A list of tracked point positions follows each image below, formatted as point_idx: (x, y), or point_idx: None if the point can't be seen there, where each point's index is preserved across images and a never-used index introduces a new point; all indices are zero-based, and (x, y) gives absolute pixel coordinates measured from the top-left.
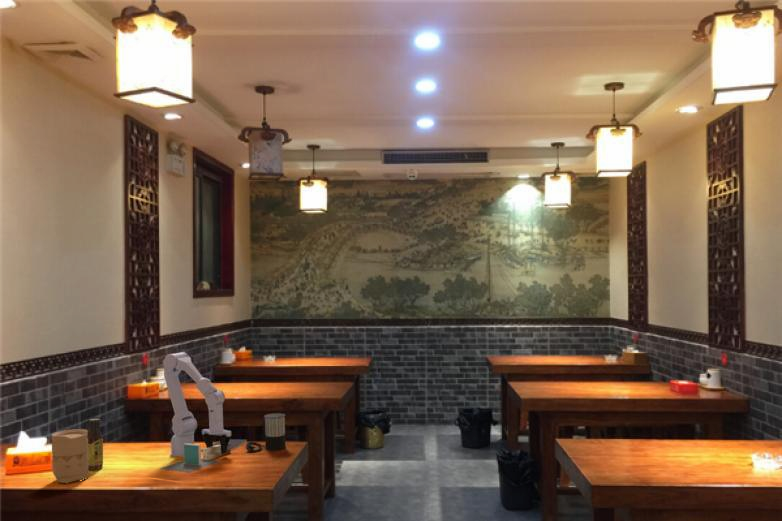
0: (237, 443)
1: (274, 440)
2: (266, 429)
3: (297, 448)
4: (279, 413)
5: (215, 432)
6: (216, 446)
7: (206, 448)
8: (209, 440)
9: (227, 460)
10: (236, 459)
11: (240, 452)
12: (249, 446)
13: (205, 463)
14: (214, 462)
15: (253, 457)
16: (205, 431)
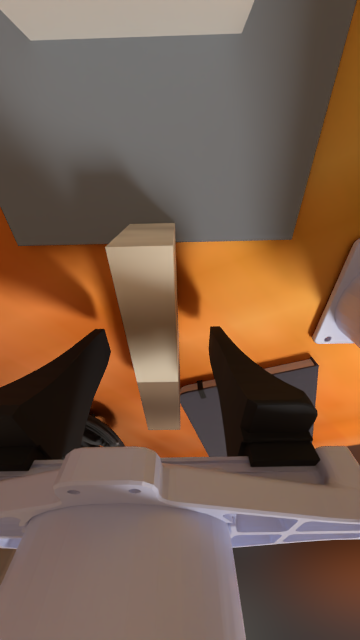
0: (219, 454)
1: None
2: None
3: None
4: None
5: (36, 498)
6: (139, 357)
7: (143, 267)
8: (227, 395)
9: (51, 297)
10: (32, 327)
11: (134, 403)
12: (98, 436)
13: (45, 115)
14: (17, 188)
15: (6, 373)
16: (300, 497)
